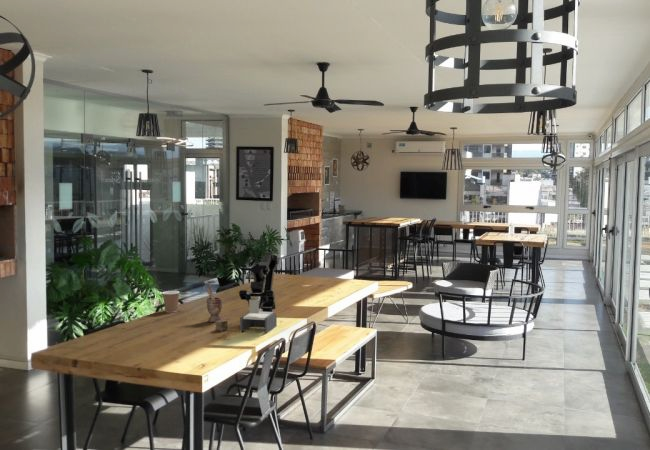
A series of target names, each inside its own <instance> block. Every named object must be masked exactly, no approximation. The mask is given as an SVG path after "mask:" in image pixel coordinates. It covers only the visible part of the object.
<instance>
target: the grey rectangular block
mask: <svg viewBox="0 0 650 450" xmlns="http://www.w3.org/2000/svg"><path fill="white" fill-rule="evenodd" d="M260 301H261V298H260V297H251V299H250V300H249V304H248V308H249V311H248V312H249V313H259V312H262V309H261V308H260V309H259V304H260Z"/></svg>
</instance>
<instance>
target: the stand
mask: <svg viewBox="0 0 650 450" xmlns="http://www.w3.org/2000/svg"><path fill="white" fill-rule="evenodd" d="M227 329H228V320H226V319H221V320H218V321H216V322H215V331H218V330H220V331H219V332H224V331H223V330H225V331H228V330H227Z"/></svg>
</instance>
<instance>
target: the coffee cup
mask: <svg viewBox="0 0 650 450" xmlns="http://www.w3.org/2000/svg"><path fill="white" fill-rule="evenodd" d="M162 296H163V303H164V304H163V305H164V310H165V312H166V313H176V312H178V309H179V307H178V306H179V298H180V297H179V296H180V291H178V290H166V291H162Z"/></svg>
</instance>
